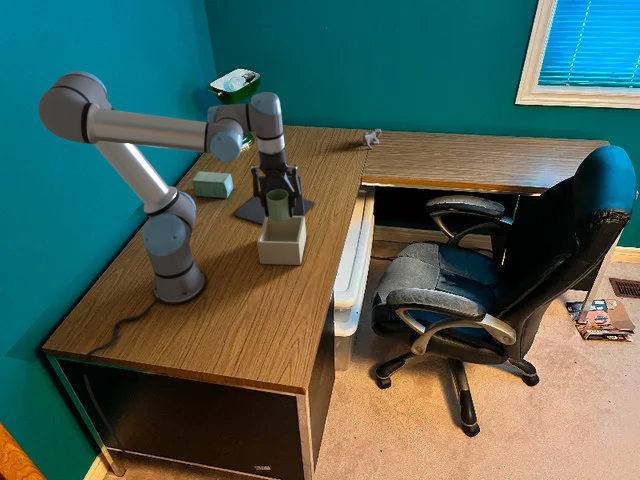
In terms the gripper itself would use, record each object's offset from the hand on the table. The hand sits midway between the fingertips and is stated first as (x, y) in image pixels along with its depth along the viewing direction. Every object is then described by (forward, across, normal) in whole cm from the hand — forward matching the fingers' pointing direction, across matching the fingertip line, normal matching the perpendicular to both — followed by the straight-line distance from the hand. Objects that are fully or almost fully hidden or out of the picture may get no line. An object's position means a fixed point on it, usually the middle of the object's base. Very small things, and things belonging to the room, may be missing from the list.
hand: (279, 214), depth 151 cm
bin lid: (-2, 0, -6) cm, 7 cm away
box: (+15, +33, -35) cm, 50 cm away
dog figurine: (+15, -28, -77) cm, 83 cm away
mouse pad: (+15, +8, -24) cm, 29 cm away
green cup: (0, 0, 0) cm, 0 cm away
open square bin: (+15, 0, 0) cm, 15 cm away
